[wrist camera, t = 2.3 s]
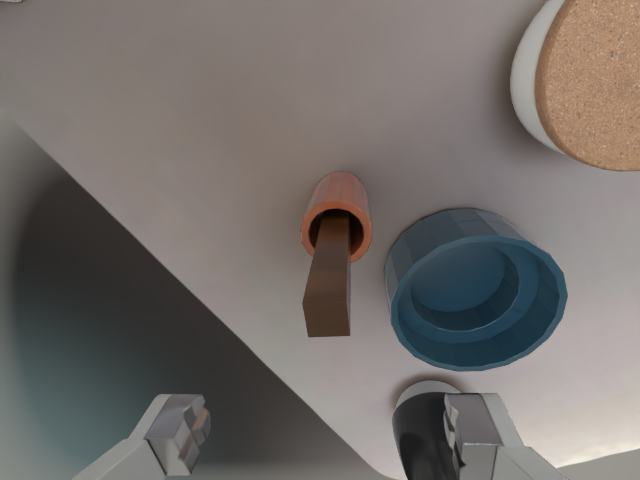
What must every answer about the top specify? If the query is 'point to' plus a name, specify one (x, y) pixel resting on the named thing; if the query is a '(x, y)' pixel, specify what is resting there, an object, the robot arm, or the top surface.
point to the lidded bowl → (582, 81)
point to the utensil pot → (344, 195)
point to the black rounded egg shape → (424, 432)
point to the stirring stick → (330, 278)
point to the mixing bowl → (471, 291)
